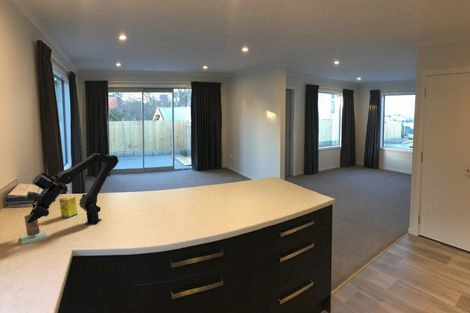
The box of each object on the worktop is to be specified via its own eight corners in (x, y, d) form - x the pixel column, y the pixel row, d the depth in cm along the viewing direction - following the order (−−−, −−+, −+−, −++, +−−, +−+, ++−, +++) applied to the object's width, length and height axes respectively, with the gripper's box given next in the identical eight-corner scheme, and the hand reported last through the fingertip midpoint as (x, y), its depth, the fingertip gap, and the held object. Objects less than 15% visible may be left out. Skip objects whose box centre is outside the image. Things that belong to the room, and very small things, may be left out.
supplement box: (61, 217, 177) (58, 198, 175) (70, 213, 182) (67, 195, 181) (69, 218, 175) (66, 199, 173) (77, 214, 180) (75, 196, 178)
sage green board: (21, 237, 150) (20, 235, 150) (45, 232, 156) (44, 230, 156) (22, 244, 142) (21, 242, 142) (47, 238, 148) (46, 236, 148)
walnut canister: (31, 231, 151) (29, 214, 150) (41, 231, 151) (39, 213, 150) (24, 235, 146) (21, 217, 145) (35, 235, 146) (32, 217, 145)
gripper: (35, 181, 154) (11, 207, 150) (36, 189, 139) (10, 218, 135) (55, 193, 160) (33, 218, 156) (59, 202, 145) (34, 230, 141)
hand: (28, 221), depth 147 cm, fingers closed on walnut canister, 5 cm apart
